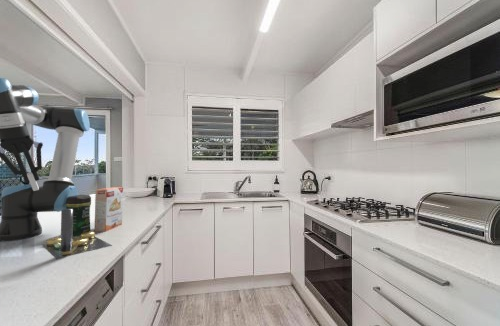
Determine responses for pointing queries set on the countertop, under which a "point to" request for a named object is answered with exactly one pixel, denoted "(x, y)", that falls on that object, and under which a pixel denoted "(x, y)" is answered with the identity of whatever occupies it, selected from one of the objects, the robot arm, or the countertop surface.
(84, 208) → the coffee jar
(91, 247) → the levelling plate
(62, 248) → the crank handle
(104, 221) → the cracker box
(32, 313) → the countertop surface
